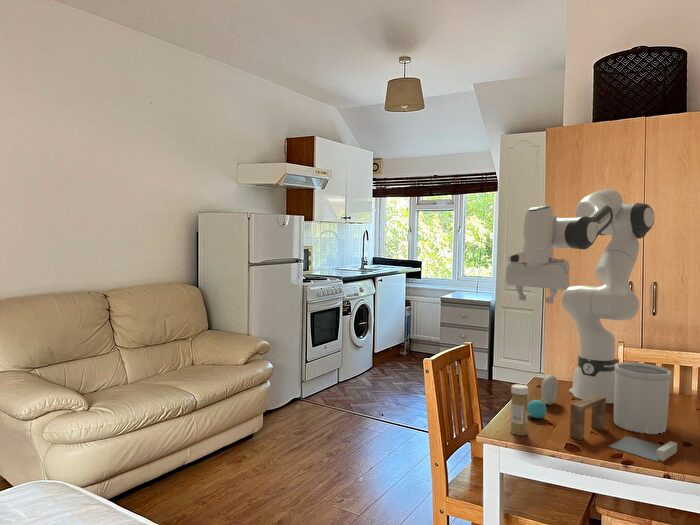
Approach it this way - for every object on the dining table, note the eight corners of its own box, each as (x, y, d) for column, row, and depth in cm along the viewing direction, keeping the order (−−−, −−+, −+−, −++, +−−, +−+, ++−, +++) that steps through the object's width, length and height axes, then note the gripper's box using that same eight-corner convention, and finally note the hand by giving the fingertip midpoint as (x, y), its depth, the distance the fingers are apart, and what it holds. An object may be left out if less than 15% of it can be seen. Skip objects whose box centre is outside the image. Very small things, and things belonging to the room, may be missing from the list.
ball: (533, 413, 167) (533, 396, 167) (549, 418, 163) (550, 400, 163) (523, 417, 164) (524, 399, 163) (539, 422, 159) (540, 403, 159)
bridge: (569, 436, 148) (570, 404, 147) (594, 425, 157) (595, 395, 156) (580, 440, 145) (581, 406, 145) (604, 428, 155) (605, 397, 154)
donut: (548, 399, 182) (549, 370, 182) (558, 401, 180) (559, 372, 180) (539, 406, 174) (540, 376, 174) (550, 408, 172) (550, 378, 172)
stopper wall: (670, 450, 139) (670, 441, 139) (676, 452, 138) (677, 443, 137) (656, 459, 133) (656, 449, 133) (663, 461, 132) (663, 451, 132)
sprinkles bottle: (530, 434, 149) (531, 386, 149) (519, 437, 147) (521, 389, 146) (517, 429, 153) (518, 382, 153) (506, 432, 151) (508, 385, 150)
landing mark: (627, 436, 148) (628, 436, 148) (675, 450, 139) (675, 449, 139) (608, 446, 141) (608, 446, 141) (657, 461, 131) (657, 461, 131)
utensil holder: (674, 426, 158) (676, 367, 157) (662, 439, 147) (665, 376, 146) (620, 414, 168) (622, 359, 167) (606, 426, 157) (608, 367, 156)
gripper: (574, 259, 160) (572, 304, 160) (514, 256, 176) (513, 298, 176) (563, 259, 156) (562, 305, 156) (503, 256, 172) (502, 299, 172)
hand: (535, 301), depth 166 cm, fingers open, 8 cm apart
